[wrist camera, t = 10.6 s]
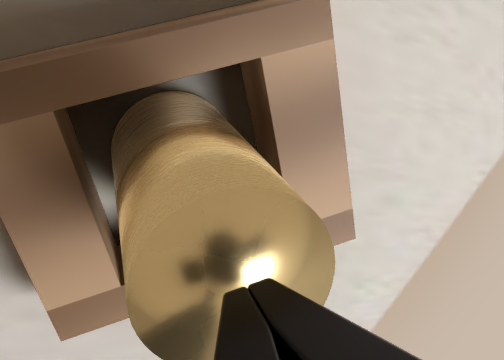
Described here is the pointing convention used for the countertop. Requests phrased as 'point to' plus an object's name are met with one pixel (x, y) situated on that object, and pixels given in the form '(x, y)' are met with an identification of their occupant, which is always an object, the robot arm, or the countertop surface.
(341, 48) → the countertop surface
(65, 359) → the countertop surface
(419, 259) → the countertop surface
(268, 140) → the jig
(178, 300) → the peg
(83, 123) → the countertop surface
